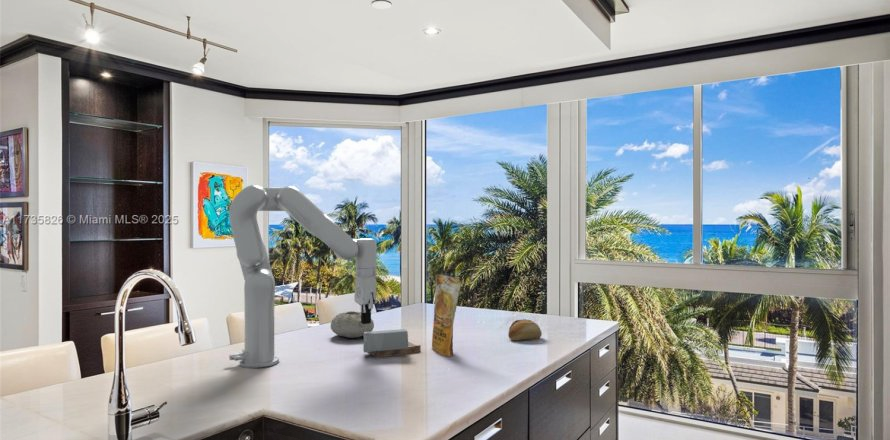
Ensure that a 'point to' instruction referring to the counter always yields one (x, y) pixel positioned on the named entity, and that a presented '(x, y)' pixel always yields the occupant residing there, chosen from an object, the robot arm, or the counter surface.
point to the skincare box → (385, 340)
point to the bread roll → (524, 330)
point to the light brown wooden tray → (398, 351)
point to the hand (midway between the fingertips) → (366, 323)
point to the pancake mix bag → (445, 313)
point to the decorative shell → (350, 325)
